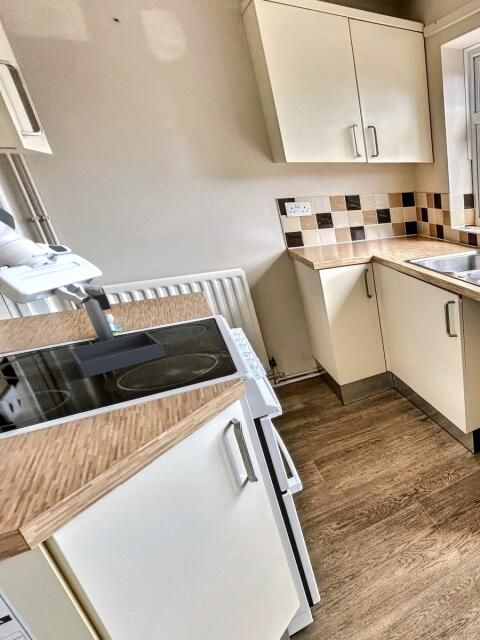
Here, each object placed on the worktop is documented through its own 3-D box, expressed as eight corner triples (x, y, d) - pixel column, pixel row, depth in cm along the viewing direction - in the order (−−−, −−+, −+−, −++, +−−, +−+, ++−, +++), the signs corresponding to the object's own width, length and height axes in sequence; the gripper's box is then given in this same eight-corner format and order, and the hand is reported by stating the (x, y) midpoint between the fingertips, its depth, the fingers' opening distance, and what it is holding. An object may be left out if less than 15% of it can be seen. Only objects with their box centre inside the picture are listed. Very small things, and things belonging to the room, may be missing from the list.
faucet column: (98, 353, 109) (76, 302, 104) (94, 348, 112) (72, 298, 107) (126, 347, 113) (106, 296, 108) (121, 342, 116) (101, 293, 111)
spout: (97, 311, 101) (91, 295, 99) (80, 303, 107) (74, 289, 106) (115, 307, 103) (109, 292, 102) (98, 300, 110) (92, 286, 108)
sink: (85, 378, 96) (78, 364, 95) (74, 362, 104) (68, 349, 103) (166, 355, 107) (161, 343, 105) (150, 343, 115) (146, 331, 114)
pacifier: (93, 341, 117) (121, 336, 120) (83, 320, 115) (112, 315, 118) (98, 334, 123) (125, 329, 126) (89, 314, 120) (116, 309, 123)
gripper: (-21, 261, 87) (48, 305, 91) (72, 244, 106) (125, 281, 110) (-32, 282, 89) (36, 325, 93) (61, 262, 108) (114, 298, 112)
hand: (85, 301), depth 102 cm, fingers closed
